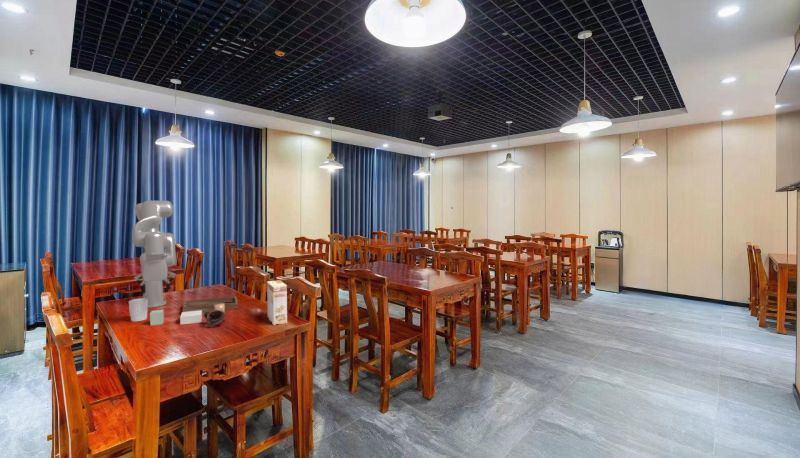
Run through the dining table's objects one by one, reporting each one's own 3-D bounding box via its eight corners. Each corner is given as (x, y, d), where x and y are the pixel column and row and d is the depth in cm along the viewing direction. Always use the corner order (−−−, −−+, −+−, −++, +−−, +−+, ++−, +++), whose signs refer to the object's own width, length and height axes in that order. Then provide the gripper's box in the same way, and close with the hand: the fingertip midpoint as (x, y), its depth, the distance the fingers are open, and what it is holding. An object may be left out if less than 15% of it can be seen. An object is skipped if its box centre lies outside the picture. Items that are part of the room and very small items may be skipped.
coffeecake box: (287, 323, 180) (287, 285, 179) (273, 325, 177) (272, 286, 175) (281, 315, 193) (280, 279, 192) (267, 317, 189) (266, 281, 188)
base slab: (182, 319, 185) (182, 312, 185) (202, 317, 189) (201, 310, 189) (180, 325, 177) (180, 317, 177) (201, 322, 181) (201, 314, 181)
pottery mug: (231, 322, 182) (229, 311, 178) (218, 336, 175) (216, 324, 170) (211, 315, 184) (208, 303, 180) (197, 328, 177) (194, 316, 172)
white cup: (138, 322, 180) (137, 302, 179) (125, 321, 181) (124, 301, 181) (152, 317, 187) (151, 298, 187) (139, 316, 189) (138, 297, 188)
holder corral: (184, 307, 207) (184, 301, 207) (236, 301, 220) (235, 295, 220) (182, 315, 192) (182, 308, 192) (237, 308, 205) (237, 302, 205)
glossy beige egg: (214, 312, 197) (214, 304, 196) (224, 311, 199) (224, 302, 199) (214, 315, 192) (214, 306, 192) (224, 314, 194) (224, 305, 194)
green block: (151, 322, 180) (151, 310, 179) (163, 321, 182) (163, 309, 182) (150, 325, 175) (150, 313, 175) (162, 324, 178) (162, 312, 177)
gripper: (176, 255, 184) (177, 288, 185) (134, 257, 176) (136, 292, 177) (174, 257, 177) (175, 291, 178) (131, 259, 169) (133, 295, 170)
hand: (156, 292), depth 178 cm, fingers open, 9 cm apart
